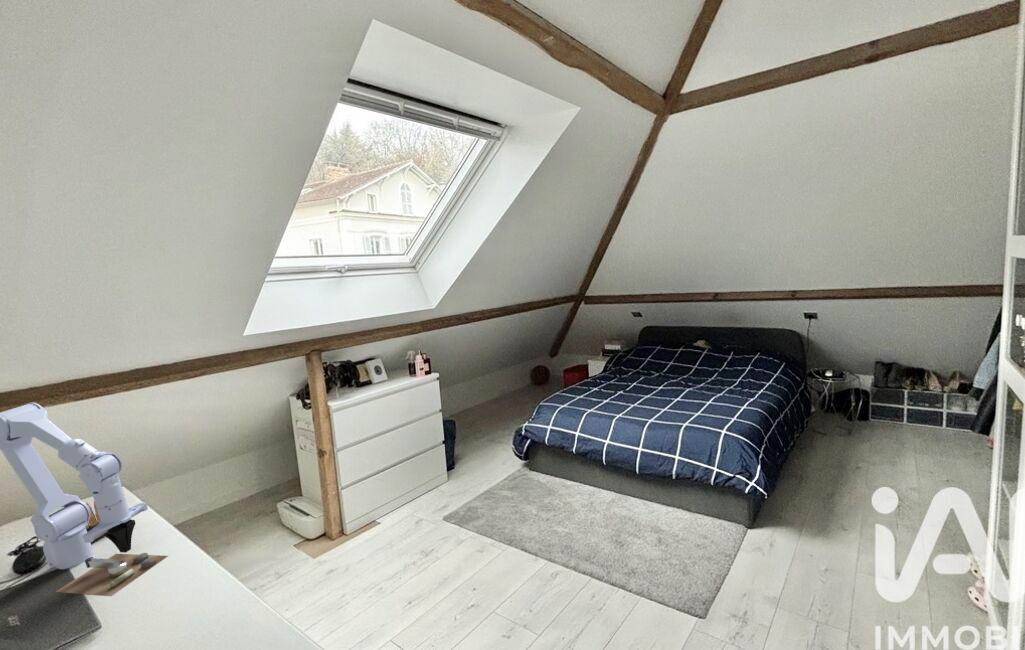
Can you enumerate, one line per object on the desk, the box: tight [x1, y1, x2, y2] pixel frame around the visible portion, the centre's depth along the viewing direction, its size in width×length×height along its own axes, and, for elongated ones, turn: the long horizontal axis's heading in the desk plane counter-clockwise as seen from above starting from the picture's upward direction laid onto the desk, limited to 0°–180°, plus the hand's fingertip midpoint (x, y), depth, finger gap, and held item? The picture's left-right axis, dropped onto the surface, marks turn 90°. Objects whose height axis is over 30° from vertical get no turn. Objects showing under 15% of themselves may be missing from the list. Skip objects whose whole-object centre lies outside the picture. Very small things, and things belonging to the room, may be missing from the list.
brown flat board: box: [55, 552, 169, 597], centre depth 119 cm, size 18×14×3 cm
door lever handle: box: [84, 556, 129, 578], centre depth 119 cm, size 12×4×3 cm, turn 76°
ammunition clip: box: [85, 500, 106, 546], centre depth 139 cm, size 11×2×12 cm, turn 137°
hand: (125, 550), depth 124 cm, fingers closed
